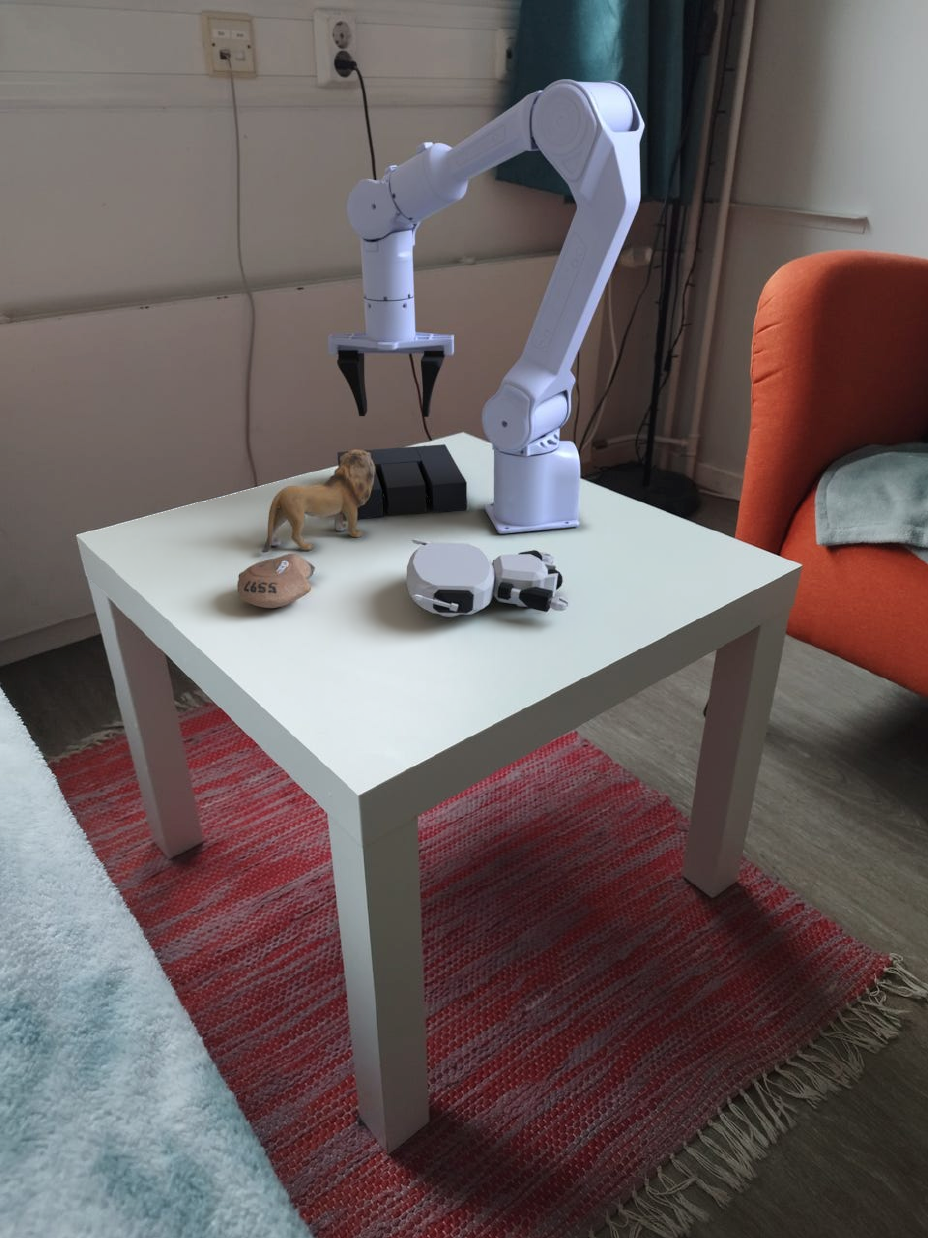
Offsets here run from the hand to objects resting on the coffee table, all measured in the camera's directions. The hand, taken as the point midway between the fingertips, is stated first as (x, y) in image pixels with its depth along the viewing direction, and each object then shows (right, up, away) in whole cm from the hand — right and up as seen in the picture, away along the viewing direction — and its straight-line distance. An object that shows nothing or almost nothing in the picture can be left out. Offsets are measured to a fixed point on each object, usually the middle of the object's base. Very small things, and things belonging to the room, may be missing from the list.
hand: (394, 414), depth 109 cm
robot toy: (+10, -23, -22) cm, 33 cm away
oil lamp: (-10, -23, -20) cm, 32 cm away
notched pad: (0, -9, +3) cm, 10 cm away
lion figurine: (-7, -16, -8) cm, 19 cm away
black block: (+1, -11, +1) cm, 11 cm away
